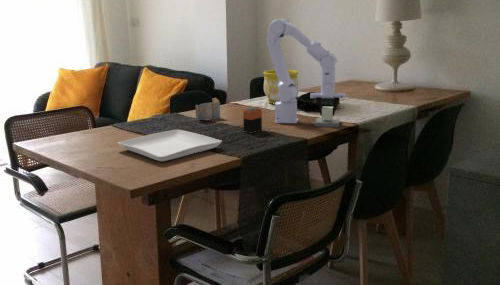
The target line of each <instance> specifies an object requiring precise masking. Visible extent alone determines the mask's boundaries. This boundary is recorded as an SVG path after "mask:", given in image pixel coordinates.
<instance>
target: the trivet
mask: <svg viewBox="0 0 500 285" xmlns="http://www.w3.org/2000/svg"><path fill="white" fill-rule="evenodd" d="M340 121H341V120H340V118H334V117H333V120H322V117H316V118H315V121H314V127H322V128H339V127H340Z"/></svg>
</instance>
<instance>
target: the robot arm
mask: <svg viewBox="0 0 500 285" xmlns="http://www.w3.org/2000/svg"><path fill="white" fill-rule="evenodd" d="M267 27H268V30H267V31H268V33H267V36H266V37H267V38H266V45H267V48H268V52H269V54H270V55H269V56H270V58H271V62H272V65H273V68H274V70H275V71H276V74H277V78H278V81H279V84H278V89H279V98H280V102H276V103H275V104H274V124H297V123H298V121H299V118H298V117H297V116H298V114H297V112H298V110H297V109H298V105H297V104H298V102H297V101H298V100H297V98H298V95H299V88H298V89H297V87H296V86H295V85H294V83H293V81H292V79H291V78H290V75H289V72H288V70H289V69H288V66H287V63H286V59H285V57H284V52H283V50H282V46H281V41H282V39H283V38H284V36H291V37H292V38H294V39H295V40H296V41H298V42H299V43H300V44H301V45H303V46H304V47H305V48H306V53H307V54H308V55H310V56H311V57H312V58H313V59H314V60H315V61H317V62H319V65H320V67H321V74H320V79H321V80H320V92H310V95H309V97H310V99H315V102H316V105H317V106H318V110H319V115H320V116H322V107H323V99H332V107H333V117H334V116H335V114H336V113H335V112H336V109H337V106H338V104H339V102H340V99H342V100H345V99H346V93H342V92H341V93H339V92H335V91H336V90H335V89H336V64H337V62H338V61H337V60H338V59H337V57H336V55H335V54H334V53H330V51H329V50H327V49H326V48H324V47H323V45H322V42H320V41H319V42H318V41H312V40H311V39H310V38H308V37H307V35H306V34H304V33H303V32H302V31H301V30H300V29H299V27H297V26H296V24H294V23H292V22H290V21H289V19H287V18H280V19H279V18H276V19H273V20H272V21H271V22H270V24H269V25H268V26H267Z"/></svg>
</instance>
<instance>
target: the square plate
mask: <svg viewBox="0 0 500 285" xmlns="http://www.w3.org/2000/svg"><path fill="white" fill-rule="evenodd" d="M222 142H223V140H222V139H217V138H214V137H210V136H207V135H203V134H199V133H195V132H191V131H187V130H182V129H172V130H166V131H161V132H156V133H150V134H146V135H141V136H137V137H134V138H129V139H125V140H122V141H118V142H117V144H118V146H120V147H121V148H123V149H125V150H127V151H130V152H132V153H136V154H139V155H141V156H144V157H146V158H150V159H153V160H155V161H158V162H166V161H171V160H175V159H179V158H183V157H187V156H190V154H191V155H194V153H195V154H198V152H199V153H202V152H204V151H208V150H212V149H214V148H217V147H219V145H221V143H222Z"/></svg>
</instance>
